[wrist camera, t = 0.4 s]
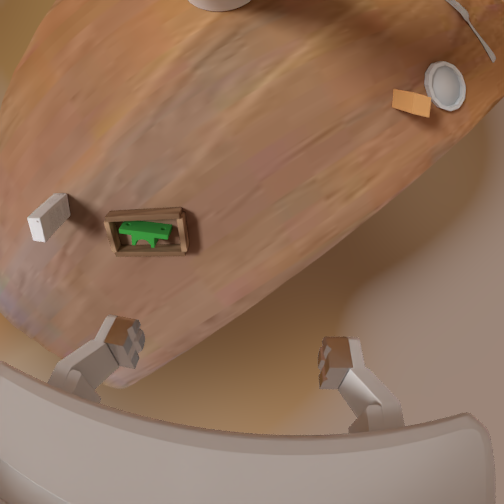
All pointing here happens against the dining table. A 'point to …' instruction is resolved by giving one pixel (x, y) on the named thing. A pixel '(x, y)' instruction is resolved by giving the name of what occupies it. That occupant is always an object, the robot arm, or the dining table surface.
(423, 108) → the wooden toy brick
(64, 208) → the skincare box
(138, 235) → the pipe clamp
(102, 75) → the dining table surface
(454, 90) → the ring dish
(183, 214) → the frame
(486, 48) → the fork
